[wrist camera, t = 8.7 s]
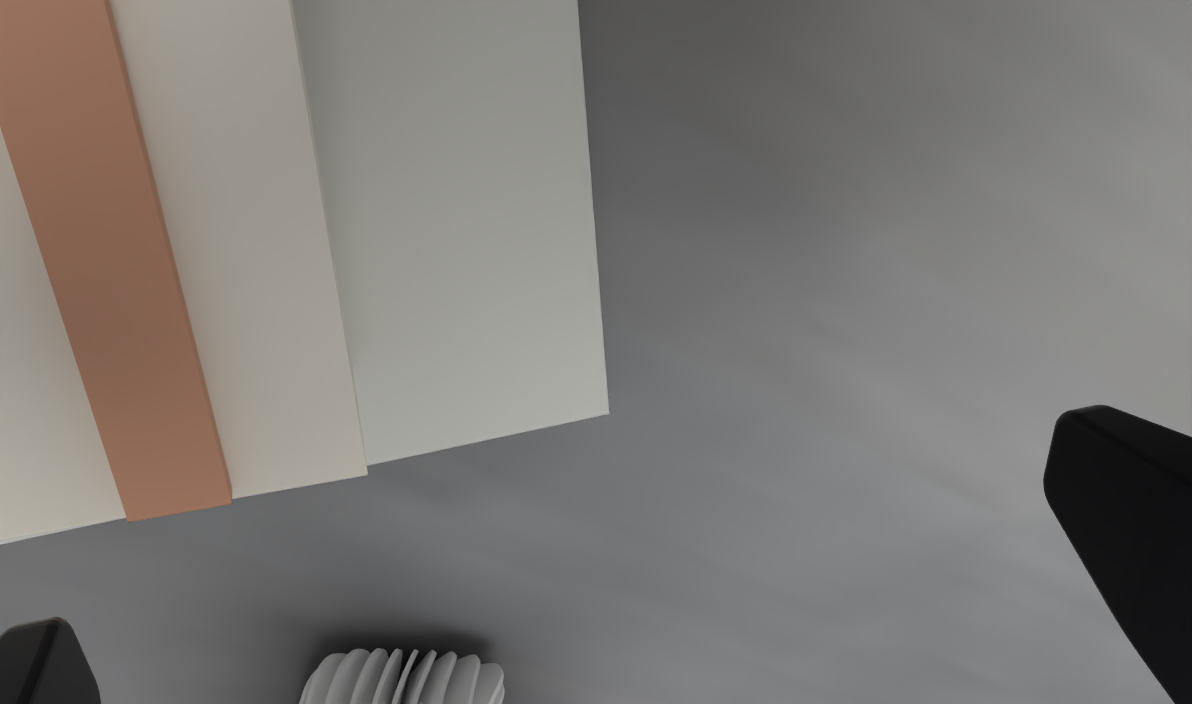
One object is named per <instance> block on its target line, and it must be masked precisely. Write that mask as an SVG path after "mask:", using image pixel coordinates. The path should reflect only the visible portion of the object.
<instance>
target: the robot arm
mask: <svg viewBox="0 0 1192 704" xmlns="http://www.w3.org/2000/svg"><path fill="white" fill-rule="evenodd" d="M1043 484H1044V492H1045V496H1046V498H1047V501H1048V503H1049V505H1050V507H1051V509H1052V511H1053V512H1054V514H1055V516H1056V518H1057V519H1058V521H1059V523H1060V524H1061V526H1062V528H1063V530H1064V531H1065V533H1066V535H1067V537H1068V538H1069V540H1070V542H1071V543H1072V545H1073V547H1074V549H1075V550H1076V552H1077V554H1078V555H1079V557H1080V559H1081V561H1082V562H1083V564H1084V566H1085V568H1086V569H1087V571H1088V573H1089V574H1090V576H1091V578H1092V580H1093V581H1094V583H1095V585H1096V586H1097V588H1098V590H1099V592H1100V593H1101V595H1102V597H1103V599H1104V600H1105V602H1106V604H1107V605H1108V607H1109V609H1110V611H1111V612H1112V614H1113V616H1114V617H1115V619H1116V620H1117V622H1118V624H1119V625H1120V627H1121V628H1122V630H1123V632H1124V633H1125V635H1126V636H1127V638H1128V639H1129V641H1130V642H1131V643H1132V645H1133V646H1134V648H1135V649H1136V651H1137V652H1138V654H1139V655H1140V657H1141V658H1142V659H1143V661H1144V662H1145V663H1146V665H1147V666H1148V668H1149V669H1150V670H1151V672H1152V673H1153V674H1154V676H1155V677H1156V679H1157V680H1158V681H1159V683H1160V684H1161V686H1162V687H1163V688H1164V690H1165V691H1166V692H1167V694H1168V695H1169V697H1170V698H1171V699H1172V701H1173V702H1174V703H1175V704H1192V437H1190V436H1188V435H1185V434H1182V433H1180V432H1177V431H1174V430H1172V429H1169V428H1166V427H1163V426H1161V425H1158V424H1155V423H1153V422H1150V421H1147V420H1145V419H1142V418H1139V417H1137V416H1134V415H1131V414H1129V413H1126V412H1123V411H1121V410H1118V409H1115V408H1113V407H1110V406H1106V405H1094V406H1089V407H1084V408H1079V409H1074V410H1070V411H1067V412H1065V413H1063V414H1062V415H1061V416H1060V417H1059V419H1058V420H1057V421H1056V424H1055V428H1054V432H1053V437H1052V441H1051V446H1050V450H1049V455H1048V459H1047V464H1046V468H1045V472H1044V478H1043ZM0 704H101V699H100V693H99V689H98V685H97V683H96V680H95V678H94V675H93V673H92V671H91V669H90V666H89V664H88V662H87V660H86V657H85V655H84V653H83V651H82V648H81V646H80V644H79V642H78V639H77V637H76V635H75V633H74V630H73V629H72V627H71V625H70V624H69V623H68V622H67V621H66V620H65V619H63V618H59V617H53V618H48V619H43V620H38V621H33V622H28V623H23V624H19V625H15V626H13V627H10V628H9V629H7V630H6V631H5V632H4V633H3V634H2V635H1V636H0Z"/></svg>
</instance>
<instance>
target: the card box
mask: <svg viewBox="0 0 1192 704" xmlns="http://www.w3.org/2000/svg"><path fill="white" fill-rule="evenodd" d="M365 475H368V472H367V465H366V458H365V451H364V444H363V437H362V430H361V423H360V416H359V409H358V402H357V395H356V388H355V381H354V374H353V367H352V361H351V355H350V349H349V343H348V337H347V331H346V325H345V319H344V312H343V306H342V300H341V294H340V288H339V282H338V276H337V270H336V264H335V258H334V252H333V246H332V240H331V234H330V228H329V222H328V216H327V210H326V204H325V198H324V192H323V186H322V180H321V174H320V168H319V161H318V155H317V149H316V143H315V137H314V131H313V125H312V119H311V113H310V107H309V101H308V95H307V89H306V83H305V77H304V71H303V65H302V59H301V53H300V47H299V41H298V35H297V29H296V23H295V17H294V10H293V4H292V0H0V540H2V539H8V538H13V537H19V536H25V535H30V534H36V533H42V532H47V531H53V530H59V529H64V528H70V527H76V526H81V525H87V524H93V523H98V522H104V521H110V520H115V519H121V518H127V521H128V522H132V521H138V520H144V519H149V518H155V517H161V516H166V515H172V514H178V513H183V512H189V511H195V510H200V509H206V508H212V507H217V506H223V505H228V504H232V499H235V498H240V497H246V496H252V495H257V494H263V493H269V492H274V491H280V490H286V489H291V488H297V487H303V486H308V485H314V484H320V483H325V482H331V481H337V480H342V479H348V478H354V477H359V476H365Z"/></svg>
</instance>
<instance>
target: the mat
mask: <svg viewBox="0 0 1192 704" xmlns="http://www.w3.org/2000/svg"><path fill="white" fill-rule="evenodd" d="M292 4H293V10H294V17H295V23H296V29H297V35H298V41H299V47H300V53H301V59H302V65H303V71H304V77H305V83H306V89H307V95H308V101H309V107H310V113H311V119H312V125H313V131H314V137H315V143H316V149H317V155H318V161H319V168H320V174H321V180H322V186H323V192H324V198H325V204H326V210H327V216H328V222H329V228H330V234H331V240H332V246H333V252H334V258H335V264H336V270H337V276H338V282H339V288H340V294H341V300H342V306H343V312H344V319H345V325H346V331H347V337H348V343H349V349H350V355H351V361H352V367H353V374H354V381H355V388H356V395H357V402H358V409H359V416H360V423H361V430H362V437H363V444H364V451H365V458H366V465H367V466H368V465H373V464H378V463H382V462H387V461H392V460H396V459H401V458H405V457H410V456H415V455H419V454H424V453H429V452H433V451H438V450H443V449H447V448H452V447H457V446H461V445H466V444H471V443H475V442H480V441H485V440H489V439H494V438H499V437H503V436H508V435H513V434H517V433H522V432H527V431H531V430H536V429H541V428H545V427H550V426H555V425H559V424H564V423H569V422H573V421H578V420H583V419H587V418H592V417H597V416H601V415H606V414H609V405H608V392H607V379H606V366H605V353H604V340H603V327H602V314H601V301H600V288H599V275H598V262H597V249H596V236H595V223H594V210H593V197H592V184H591V171H590V158H589V145H588V132H587V119H586V106H585V93H584V80H583V67H582V54H581V41H580V28H579V15H578V2H577V0H292ZM115 520H117V519H115ZM110 521H112V520H110ZM104 522H107V521H104ZM98 523H103V522H98ZM98 523H93V524H98ZM93 524H87V525H81V526H76V527H70V528H64V529H59V530H53V531H47V532H42V533H36V534H30V535H25V536H19V537H13V538H8V539H2V540H0V544H5V543H9V542H14V541H19V540H23V539H28V538H33V537H37V536H42V535H47V534H51V533H56V532H61V531H65V530H70V529H75V528H79V527H84V526H89V525H93Z"/></svg>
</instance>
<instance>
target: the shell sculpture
mask: <svg viewBox="0 0 1192 704" xmlns="http://www.w3.org/2000/svg"><path fill="white" fill-rule="evenodd" d="M418 652H419V651H418V650H416V649H414V651H413V652H412V654H411V656H410V658H409V660H408V662H407V664H406V667H405V669H404V671H403V674H402V676H401V678H400V681H399V683H398V686H397V689H396V684H397V681H398V677H399V673H400V668H401V662H402V654H403V652H402V650H400V649H397V648H396V649H395V650H394V652H393V653H392V655H391V656H390V658H389V657H388V653H387V651H386V650H385V649H381V648H377V649H375V650H374V651H373V652H372V653H370V652H368V651H367V650H365V649H354V650H352V651H351V652H350V653H348V654H344V653H334V654H331V655H329V656H327V657H326V658H325V659H324V660H323V661H322V662H321V664H320V665H319V667H318V669H317V670H315V671H314V673H313V674H312V675H311V676H310V678H309V679H308V681H307V683H306V685H305V688H304V690H303V693H302V696H301V699H300V702H299V704H400V703H401V698H402V694H403V690H404V687H405V683H406V680H407V677H408V674H409V672H410V669H411V667H412V665H413V662H414V660H415V658H416V656H417V654H418ZM436 654H437V653H436V652H435V651H433V650H431V651H430V652H429V653H428V654H427V655H426V656H425V657H424V658H423V659H422V661H421V662H420V663H419V664H418V665H417V667H416V668H415V669H414V670H413V672H412V673H411V675H410V679H409V683H408V688H407V692H406V697H405V703H404V704H502V701H503V698H504V693H505V689H504V686H503V683H502V682H503V679H504V673H503V670H502V668H501V666H500V665H499V664H496V663H486V664H481V663H480V659H478V657H477V655H474V654H473V655H468V656H465V657H463V658H460V659H458V660H456V659H457V655H456V654H455V653H454V652H453V651H451V652H448V653H446V654H445V655H443V656H442V657H440V658H439V659H438V660H436V661H435V662H434V659H435V657H436ZM433 662H434V663H433ZM395 689H396V692H395ZM394 693H395V694H394Z"/></svg>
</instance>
